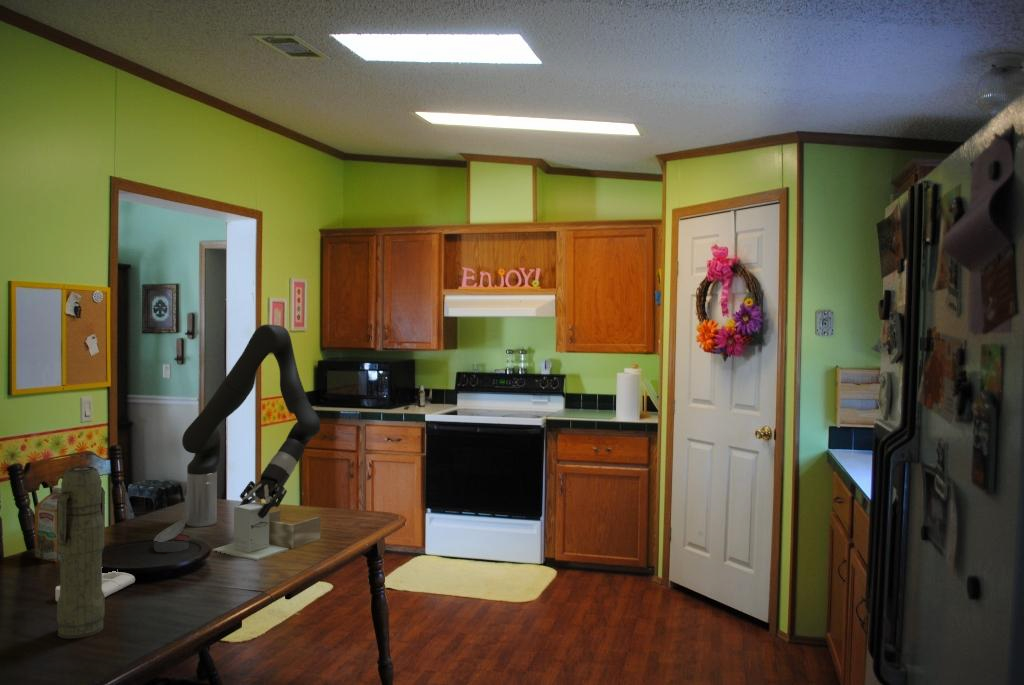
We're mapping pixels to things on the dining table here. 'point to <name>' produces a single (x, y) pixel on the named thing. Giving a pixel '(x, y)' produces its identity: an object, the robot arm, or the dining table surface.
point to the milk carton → (47, 527)
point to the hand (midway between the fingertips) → (249, 514)
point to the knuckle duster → (109, 583)
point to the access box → (292, 531)
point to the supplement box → (250, 528)
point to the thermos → (80, 553)
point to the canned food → (172, 532)
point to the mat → (254, 554)
